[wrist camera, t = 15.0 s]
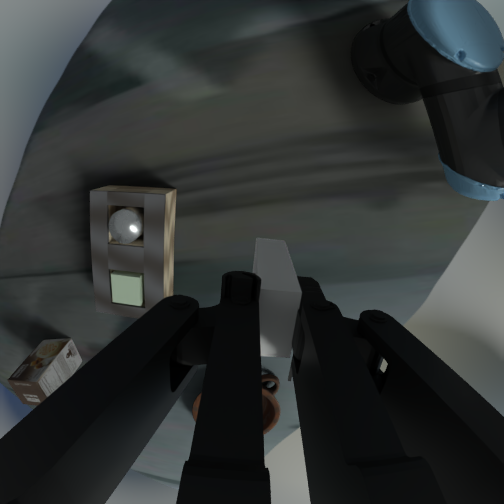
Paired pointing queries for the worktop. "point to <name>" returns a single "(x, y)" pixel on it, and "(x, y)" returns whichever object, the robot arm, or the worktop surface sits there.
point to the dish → (268, 400)
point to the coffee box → (45, 370)
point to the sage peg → (128, 287)
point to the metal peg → (127, 224)
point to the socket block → (133, 245)
